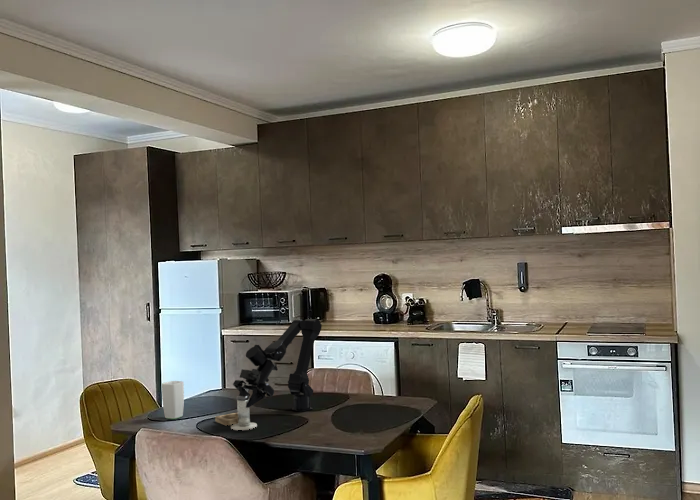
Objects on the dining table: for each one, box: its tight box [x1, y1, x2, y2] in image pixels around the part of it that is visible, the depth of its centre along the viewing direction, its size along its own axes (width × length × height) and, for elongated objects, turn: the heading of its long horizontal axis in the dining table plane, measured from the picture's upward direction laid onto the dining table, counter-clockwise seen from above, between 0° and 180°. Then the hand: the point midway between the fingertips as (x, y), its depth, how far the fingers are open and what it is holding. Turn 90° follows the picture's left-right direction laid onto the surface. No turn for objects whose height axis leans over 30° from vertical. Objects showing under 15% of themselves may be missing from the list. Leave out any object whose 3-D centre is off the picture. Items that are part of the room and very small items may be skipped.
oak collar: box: [214, 411, 238, 427], centre depth 260 cm, size 10×10×2 cm
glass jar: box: [236, 395, 251, 426], centre depth 250 cm, size 5×5×11 cm
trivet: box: [230, 421, 258, 431], centre depth 250 cm, size 10×10×1 cm
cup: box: [161, 380, 185, 420], centre depth 270 cm, size 7×7×15 cm
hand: (242, 406), depth 250 cm, fingers open, 5 cm apart
